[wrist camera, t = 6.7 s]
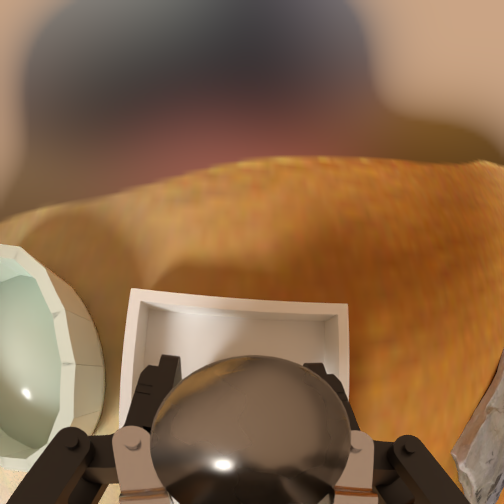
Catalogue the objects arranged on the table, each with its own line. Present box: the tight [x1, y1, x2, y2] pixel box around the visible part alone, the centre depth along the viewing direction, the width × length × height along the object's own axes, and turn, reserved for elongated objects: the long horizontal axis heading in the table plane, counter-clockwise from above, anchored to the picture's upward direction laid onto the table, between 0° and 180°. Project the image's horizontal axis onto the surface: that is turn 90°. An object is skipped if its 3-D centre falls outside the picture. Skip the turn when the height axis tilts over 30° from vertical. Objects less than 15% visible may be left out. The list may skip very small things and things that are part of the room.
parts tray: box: [119, 288, 349, 504], centre depth 13 cm, size 11×11×2 cm
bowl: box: [0, 244, 105, 472], centre depth 11 cm, size 13×13×4 cm
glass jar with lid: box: [150, 355, 351, 504], centre depth 9 cm, size 5×5×8 cm
